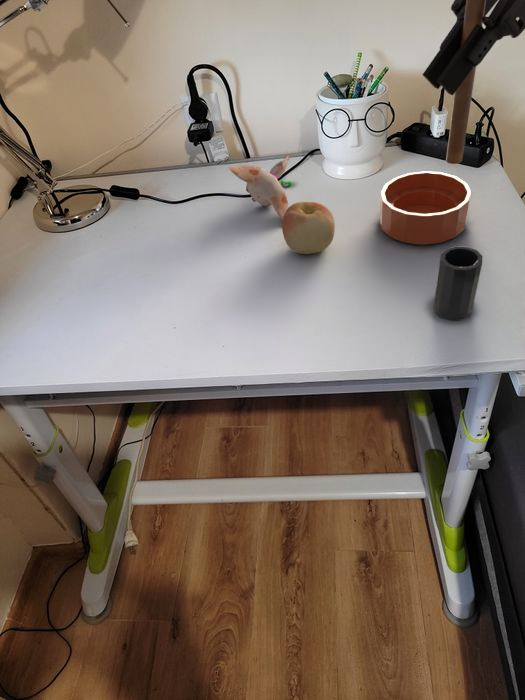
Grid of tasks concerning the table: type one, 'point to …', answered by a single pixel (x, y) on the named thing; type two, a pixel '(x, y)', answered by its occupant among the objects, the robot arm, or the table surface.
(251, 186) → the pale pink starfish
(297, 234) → the apple
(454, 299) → the utensil pot
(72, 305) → the table surface
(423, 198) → the bowl
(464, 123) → the stick
